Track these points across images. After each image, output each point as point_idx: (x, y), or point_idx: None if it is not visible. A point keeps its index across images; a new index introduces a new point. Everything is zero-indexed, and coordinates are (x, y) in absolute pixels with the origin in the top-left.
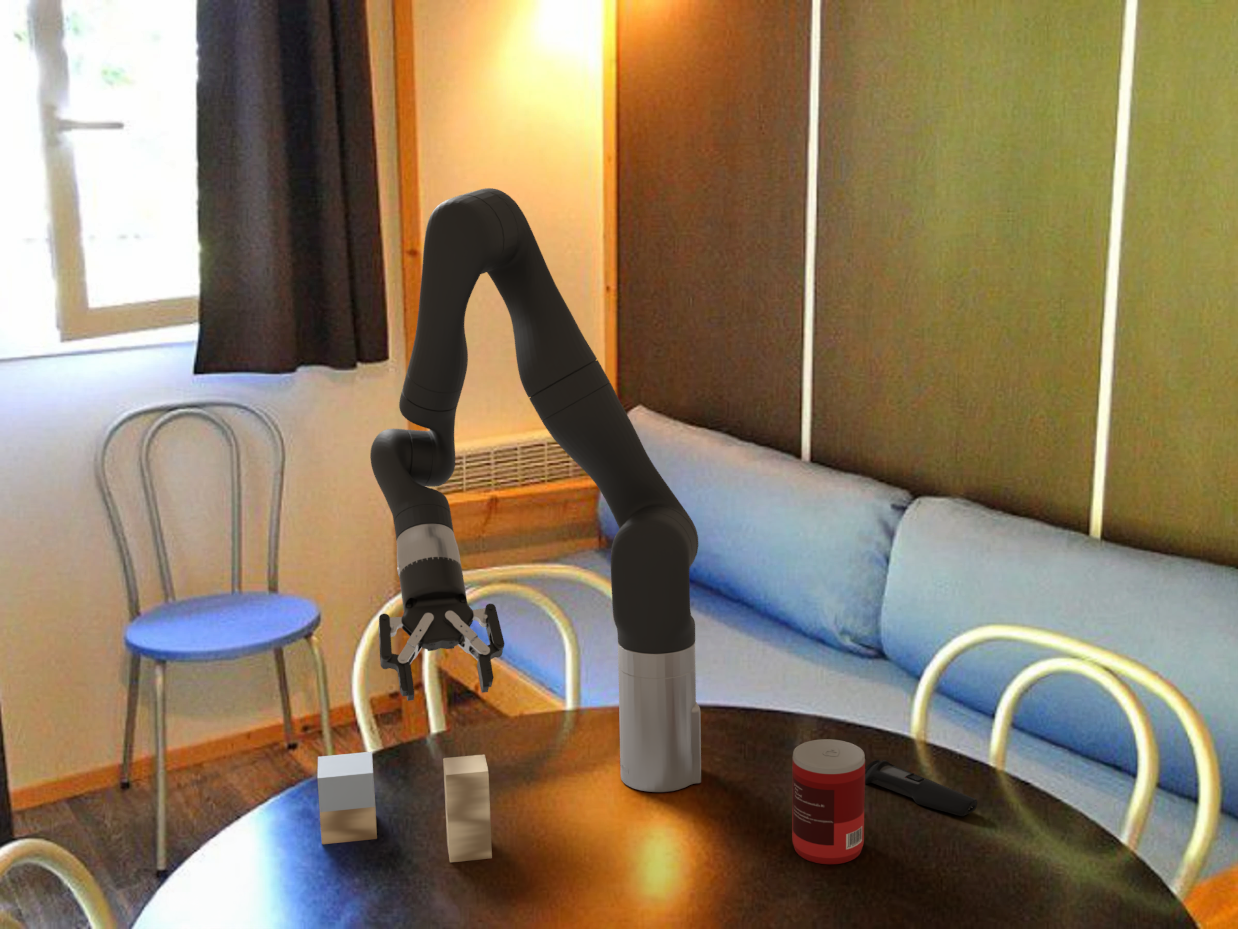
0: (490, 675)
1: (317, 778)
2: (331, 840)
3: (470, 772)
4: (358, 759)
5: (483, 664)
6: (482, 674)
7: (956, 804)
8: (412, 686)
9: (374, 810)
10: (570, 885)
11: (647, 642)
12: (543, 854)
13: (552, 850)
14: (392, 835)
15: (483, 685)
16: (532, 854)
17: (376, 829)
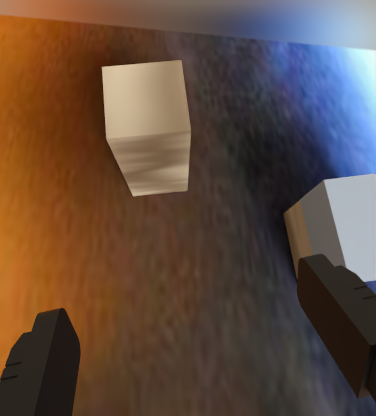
0: (19, 355)
1: None
2: None
3: (135, 64)
4: (368, 245)
5: (25, 385)
6: (48, 338)
7: None
8: (315, 267)
9: (298, 202)
10: (41, 78)
11: None
12: (63, 149)
13: (51, 158)
14: (263, 221)
15: (60, 309)
16: (77, 151)
17: (288, 235)
